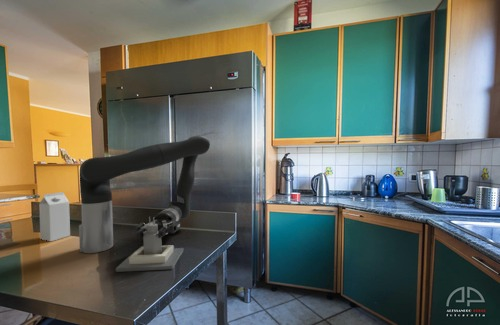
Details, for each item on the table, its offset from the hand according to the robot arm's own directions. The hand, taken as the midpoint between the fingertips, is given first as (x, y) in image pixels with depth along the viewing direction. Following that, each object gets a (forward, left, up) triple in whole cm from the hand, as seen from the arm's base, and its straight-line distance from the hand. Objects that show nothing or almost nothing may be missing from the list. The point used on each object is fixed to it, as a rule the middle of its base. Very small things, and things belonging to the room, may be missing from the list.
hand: (149, 235), depth 68 cm
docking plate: (0, +2, -9) cm, 9 cm away
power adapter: (0, +3, -7) cm, 8 cm away
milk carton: (-50, +28, -9) cm, 58 cm away
